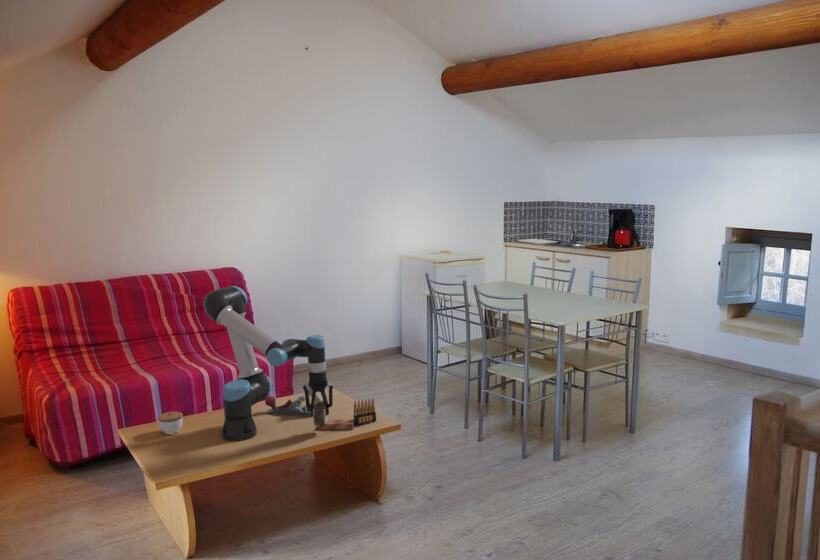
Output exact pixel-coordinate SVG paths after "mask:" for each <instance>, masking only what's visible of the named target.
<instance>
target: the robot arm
mask: <svg viewBox="0 0 820 560" xmlns="http://www.w3.org/2000/svg"><path fill="white" fill-rule="evenodd" d="M247 304H248V295H247V294H246V292H245V290H243V289H242V288H241V287H239V286H236V285H229V286H226V287H223V288H219V289H215V290H211V291H210V292H209V293H207V294H206V295H205V297H204V299H203V310H204V313H205V314H206V315H207V317H209V318H210V320H212V321H213V322H215V323H216V324H217V325H223V326H224V327H225V328H226V331H227V334H228V336H229V337H228V338H229V340H230V343H231V348H232V351H233V353H234V359H235V361H236V364H237V367H238V371H239V374H238V376H237V379H235V380H232V381H229V382H227V383H225V385H224V386H223V387H222V400H223V412H224V413H223V414H224V421H223V425H222V428H221V438H222V439H223V440H226V441H230V440H238V441H244V440H248V439H251V438H253V437H255V436H256V435H257V434H258V428H257V425H256V422H255V421H254V418H253V415H252V413H253V412H252V407H253V406H254V405H256V404H258V403H260V402H262V401H265V400H266V399H267V398H268V397H270V395H271V392H272V390H273V384H272V383H273V382H272V380H271V378H270V376H268V375H267V374H266V373H264V371H263V369H262V368H260V367H259V365H258V361H257V358H256V357H257V356H256V354H255V351H254V348H255V349H257V350H258V351H259V352H260V353H261V354H263V355H265V356H266V360H267V362H268V363H269V365H270V366H273V367H279V366H282V365H284V364H286V363H287V362H289V361H292V360H293V359H296V358H307V364H308V366H307V367H308V383H307V384H304V385H303V386H302V388H303V391H304V397H305V406H306V407H307V408H310V409H311V416H310V417H312V418H313V420H314V407H313V405H314V404H315V396H316V393H317V392H319V393H320V394H321V399H322V400H323V402H324V405H325V407H324V423H326V422H327V420H328V416H329V414H330V410H329V409H330V408H332V407H333V405H334V404H333V401H334V399H333V398H334V397H333V389H334V386H335V385H334V383H328V380H327V364H326V351H325V350H326V344H325V338H324V336H323V335H320V334H313V335H308V336H307V337H306V339H295V338H286V339H283V342H282V343H280V342H278V341H277V340H276V339H274V338H272V337H271V336H270V335H268V334H267V333H266V332H265V331H263V330H261V329H260V328H259V327H257V326H256V325H255V324H253V322H252V323H251V322H250V321H249V320H248V319H246V318H245V316H246V314H247V309H246V306H247ZM309 386H310V388H311V389H312V390H313V391H312V398H311V399H310V395H309V390H308V389H309ZM326 388H327V389H328V397H327V394H326Z"/></svg>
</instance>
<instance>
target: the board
mask: <svg viewBox="0 0 820 560" xmlns="http://www.w3.org/2000/svg"><path fill="white" fill-rule="evenodd" d="M318 427H319V430H354V428H355V424H354V419H327V422H326V423H325V424H324V425H318Z"/></svg>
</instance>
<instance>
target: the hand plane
mask: <svg viewBox="0 0 820 560" xmlns="http://www.w3.org/2000/svg"><path fill="white" fill-rule="evenodd" d="M308 390H309V397H310V398H311V399H312V391H313V390H312V389H311V388H310V386H309V389H308ZM276 401H277V399H276V397H275V396H272V395H269V396H268V397H266V398H265V399H264V402H265V405H266V406H268V407H270V409H268V410H267V411H266V412H265V415H276V414H277V416H278V415H279V416H280V415H281V416H282V415H283V416H297V415H298V416H297V417H299V416H301V417H312V416H311V409H310V408H307V407H306V405H304V404H302V403H303V402H306V400H305V395H304V396H303V395H300V396H298V397H297V398H296V399H295V400H294V401H292V400H291V399H288V400H287V401H286V402H285V403H284V404H283V405H282V404H281V405H280V406H277V405H276V403H277V402H276ZM316 401H323V398H322V396H320V395H319V394H318V393H317V392H316V396H315V402H316Z"/></svg>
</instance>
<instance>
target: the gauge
mask: <svg viewBox="0 0 820 560" xmlns="http://www.w3.org/2000/svg"><path fill="white" fill-rule="evenodd" d="M313 407H314V419H313V424H314V426H319V425H324V424H325V423H324V407H325V405H324V402H323V401H316V402H315V403H314V405H313Z"/></svg>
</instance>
